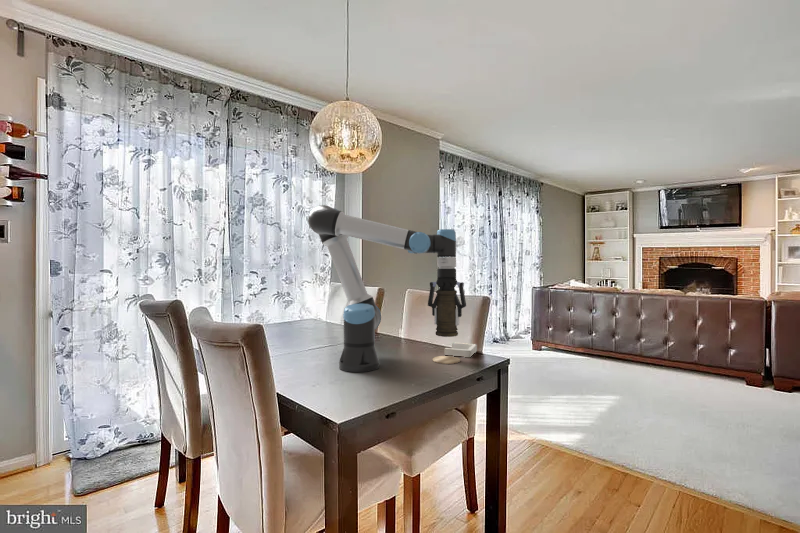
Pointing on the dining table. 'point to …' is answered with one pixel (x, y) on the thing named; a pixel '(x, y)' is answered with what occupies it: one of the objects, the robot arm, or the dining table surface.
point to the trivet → (446, 359)
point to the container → (446, 314)
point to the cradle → (461, 349)
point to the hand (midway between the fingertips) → (446, 324)
